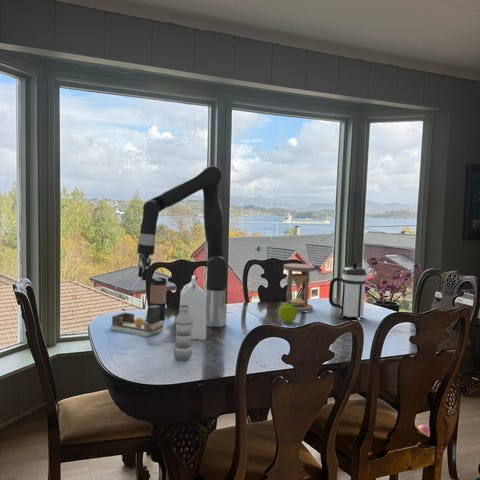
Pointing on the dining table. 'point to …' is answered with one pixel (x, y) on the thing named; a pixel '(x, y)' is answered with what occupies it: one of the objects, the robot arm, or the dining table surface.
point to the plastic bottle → (183, 334)
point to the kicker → (153, 319)
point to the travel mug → (158, 295)
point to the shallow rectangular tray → (134, 329)
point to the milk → (195, 307)
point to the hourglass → (299, 279)
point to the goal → (122, 319)
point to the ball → (139, 322)
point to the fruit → (287, 312)
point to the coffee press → (351, 291)
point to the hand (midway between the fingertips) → (142, 278)
